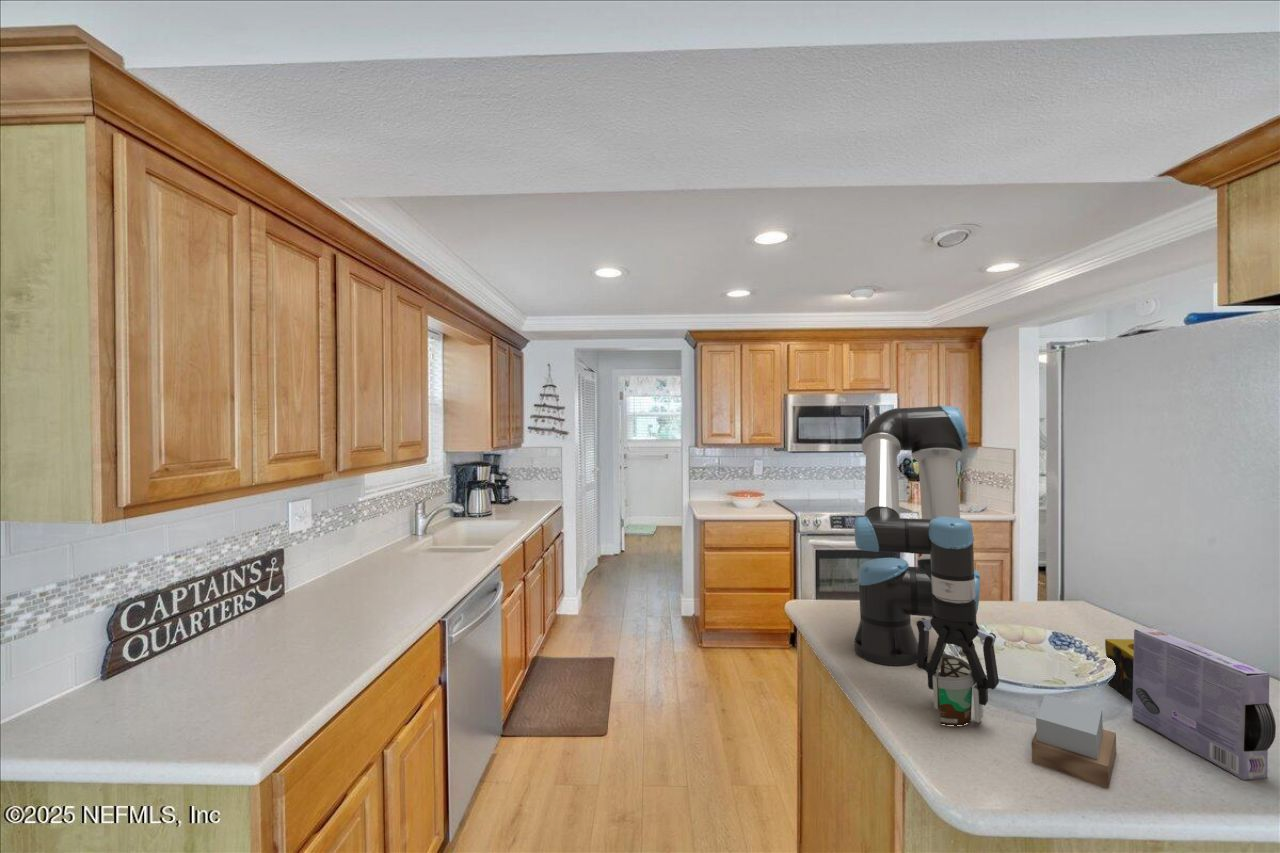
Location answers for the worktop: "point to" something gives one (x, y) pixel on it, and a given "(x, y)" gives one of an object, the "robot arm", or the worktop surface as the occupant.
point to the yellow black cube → (1121, 665)
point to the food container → (955, 691)
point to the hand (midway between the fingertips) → (957, 712)
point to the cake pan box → (1203, 702)
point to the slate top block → (1070, 726)
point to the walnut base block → (1079, 760)
